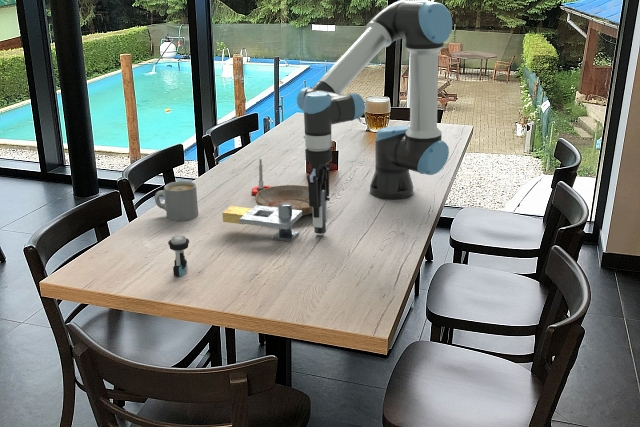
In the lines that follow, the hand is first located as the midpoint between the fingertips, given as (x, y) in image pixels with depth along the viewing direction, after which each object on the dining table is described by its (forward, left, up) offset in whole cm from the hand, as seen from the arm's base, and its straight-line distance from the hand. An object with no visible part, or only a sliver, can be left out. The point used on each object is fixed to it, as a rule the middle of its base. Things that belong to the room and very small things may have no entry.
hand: (320, 224), depth 204 cm
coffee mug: (+49, -2, -4) cm, 49 cm away
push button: (+26, +35, -4) cm, 44 cm away
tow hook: (+32, -32, -4) cm, 45 cm away
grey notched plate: (+17, +4, -3) cm, 18 cm away
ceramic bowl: (+16, -18, -4) cm, 24 cm away
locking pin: (0, 0, -2) cm, 2 cm away
